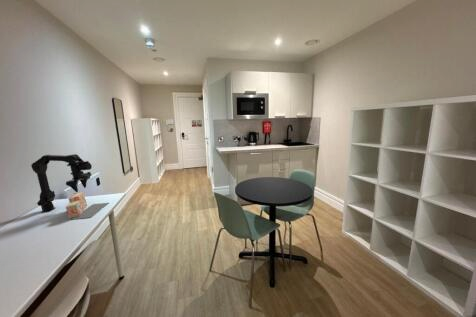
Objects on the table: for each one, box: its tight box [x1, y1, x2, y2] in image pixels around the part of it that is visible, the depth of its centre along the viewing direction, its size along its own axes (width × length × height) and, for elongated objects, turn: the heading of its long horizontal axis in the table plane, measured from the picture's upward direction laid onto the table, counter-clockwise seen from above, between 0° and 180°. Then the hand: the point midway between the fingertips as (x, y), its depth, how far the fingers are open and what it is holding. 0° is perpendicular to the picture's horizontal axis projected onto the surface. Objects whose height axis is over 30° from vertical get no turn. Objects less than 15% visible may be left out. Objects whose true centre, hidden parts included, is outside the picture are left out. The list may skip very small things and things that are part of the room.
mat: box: [71, 202, 110, 221], centre depth 152 cm, size 13×24×1 cm, turn 5°
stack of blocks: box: [65, 191, 88, 219], centre depth 150 cm, size 21×6×12 cm, turn 25°
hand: (81, 189), depth 157 cm, fingers open, 9 cm apart
